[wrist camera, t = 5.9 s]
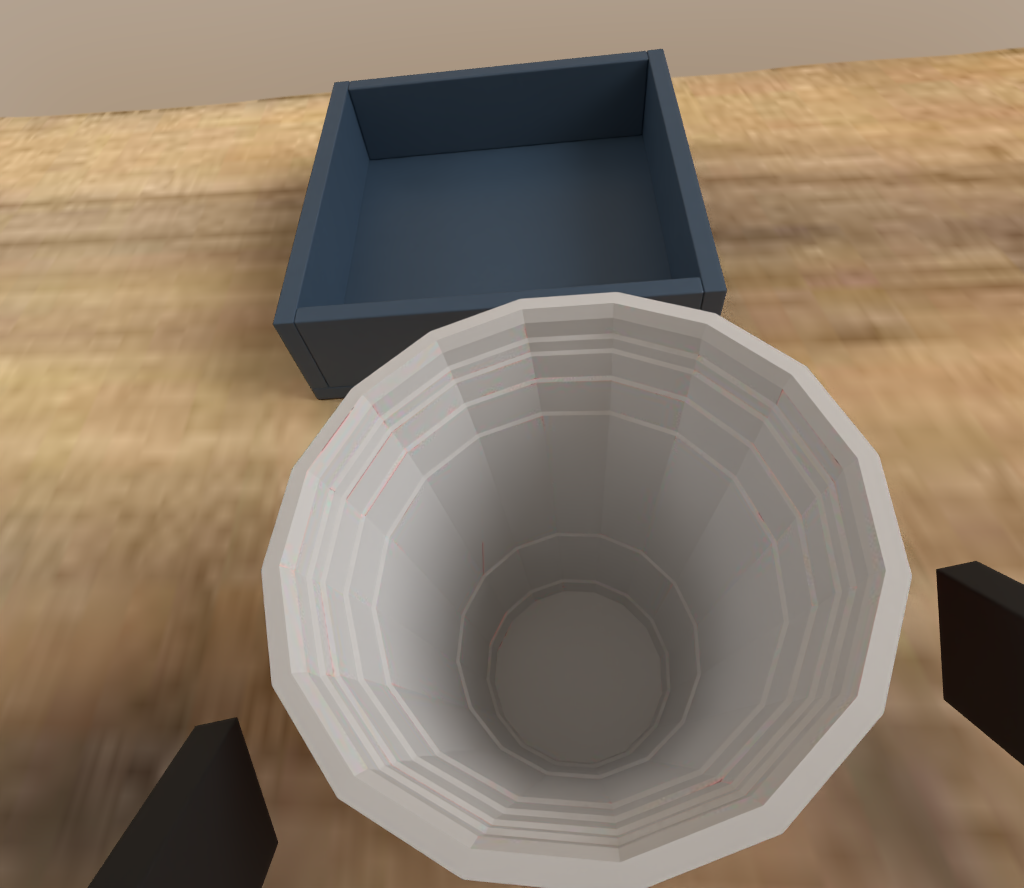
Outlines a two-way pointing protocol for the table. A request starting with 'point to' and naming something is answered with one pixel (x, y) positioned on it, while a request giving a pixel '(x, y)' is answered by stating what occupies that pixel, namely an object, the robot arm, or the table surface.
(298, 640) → the plastic cup
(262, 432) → the table surface
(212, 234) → the table surface
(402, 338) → the bin
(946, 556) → the table surface
